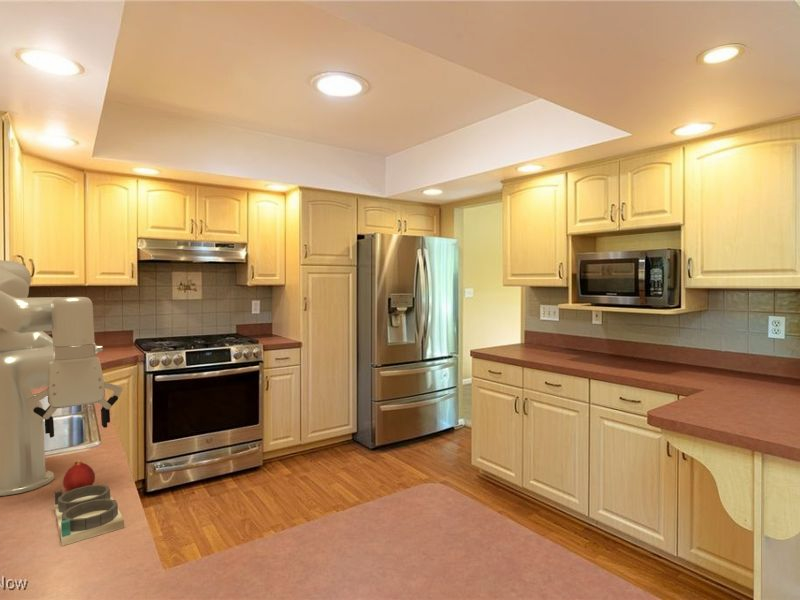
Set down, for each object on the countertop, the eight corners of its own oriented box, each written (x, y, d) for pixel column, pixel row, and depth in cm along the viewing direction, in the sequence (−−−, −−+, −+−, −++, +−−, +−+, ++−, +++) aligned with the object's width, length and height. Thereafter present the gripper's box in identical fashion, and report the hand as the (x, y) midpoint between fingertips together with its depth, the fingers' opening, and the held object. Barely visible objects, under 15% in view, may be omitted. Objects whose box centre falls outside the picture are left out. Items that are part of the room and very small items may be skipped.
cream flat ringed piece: (54, 510, 98) (53, 491, 98) (108, 496, 104) (108, 478, 104) (61, 546, 84) (61, 524, 84) (124, 527, 90) (123, 507, 90)
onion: (68, 493, 106) (67, 457, 106) (98, 488, 108) (96, 453, 108) (60, 503, 101) (58, 466, 101) (91, 498, 103) (90, 462, 103)
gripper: (117, 348, 112) (121, 420, 113) (24, 356, 101) (28, 436, 102) (123, 350, 106) (126, 426, 107) (24, 359, 95) (29, 444, 96)
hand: (78, 431), depth 104 cm, fingers open, 9 cm apart
